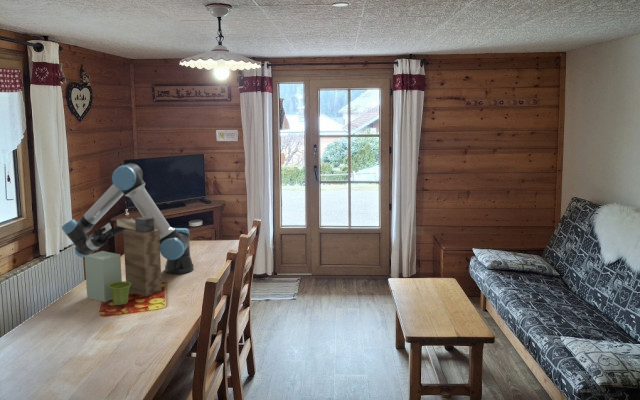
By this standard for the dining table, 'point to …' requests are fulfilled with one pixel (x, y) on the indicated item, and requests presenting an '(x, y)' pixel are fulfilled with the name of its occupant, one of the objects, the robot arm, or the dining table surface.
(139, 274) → the stand tall
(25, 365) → the dining table surface
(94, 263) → the pale green block
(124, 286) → the plant pot
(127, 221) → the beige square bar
